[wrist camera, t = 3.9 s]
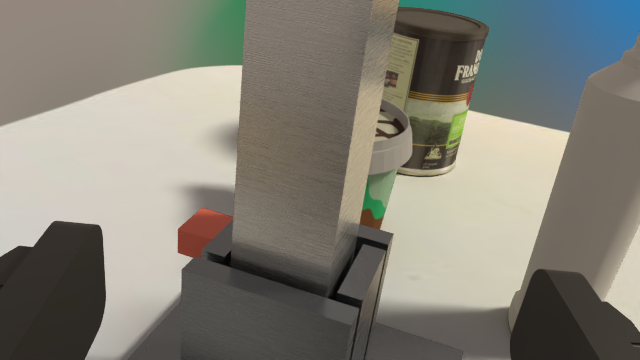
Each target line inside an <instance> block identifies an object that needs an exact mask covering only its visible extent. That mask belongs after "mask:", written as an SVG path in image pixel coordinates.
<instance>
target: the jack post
mask: <svg viewBox="0 0 640 360" xmlns="http://www.w3.org/2000/svg"><path fill="white" fill-rule="evenodd" d="M398 3H399V0H247V3H246V19H245V35H244V51H243V67H242V84H241V100H240V117H239V133H238V150H237V166H236V183H235V199H234V216H233V232H232V249H231V265H230V267H231V268H234V269H237V270H240V271H243V272H246V273H249V274H253V275H256V276H259V277H262V278H265V279H268V280H271V281H274V282H278V283H281V284H284V285H287V286H290V287H293V288H296V289H299V290H303V291H306V292H309V293H312V294H315V295H318V296H321V297H325V298H328V299H331V300H334V301H336V298H337V292H338V290H339V289H340V287H341V285H342V283H343V281H344V279H345V277H346V276H347V274H348V272H349V270H350V268H351V266H352V263H353V258H354V252H355V246H356V241H357V235H358V229H359V224H360V218H361V212H362V207H363V201H364V195H365V190H366V184H367V178H368V173H369V167H370V162H371V156H372V150H373V145H374V139H375V133H376V128H377V122H378V116H379V111H380V105H381V99H382V94H383V88H384V82H385V77H386V71H387V66H388V60H389V54H390V49H391V43H392V37H393V32H394V26H395V20H396V15H397V9H398Z"/></svg>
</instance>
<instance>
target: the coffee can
mask: <svg viewBox="0 0 640 360" xmlns="http://www.w3.org/2000/svg"><path fill="white" fill-rule="evenodd" d="M488 32H489V27H488V26H487V25H485V24H483V23H481V22H480V21H477V20H475V19H472V18H469V17H465V16H462V15H457V14H454V13H449V12H443V11H438V10H431V9H423V8H414V7H398V9H397V15H396V20H395V26H394V32H393V37H392V43H391V49H390V54H389V60H388V66H387V71H386V77H385V82H384V88H383V94H382V98H383V99H385V100H387V101H389V102H391V103H393V104H395V105H396V106H398V107H399V108H400V109H402V110H403V111H404V112H405V113H406V114H407V116H408V118H409V121H410V126H411V129H412V155H411V157H410V159H409V160H408V161H407V162H406V163H405V164H403V165H402V166H400V167H398V170H397V172H398V173H402V174H407V175H415V176H435V175H440V174H444V173H447V172H449V171H450V170H452V169H453V168H454V166H455V162H456V161H455V160H456V155H457V151H458V147H459V143H460V140H461V135H462V131H463V127H464V123H465V119H466V115H467V111H468V106H469V103H470V99H471V95H472V91H473V87H474V82H475V79H476V74H477V71H478V67H479V62H480V58H481V54H482V50H483V46H484V43H485V39H486V37H487V35H488Z"/></svg>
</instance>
